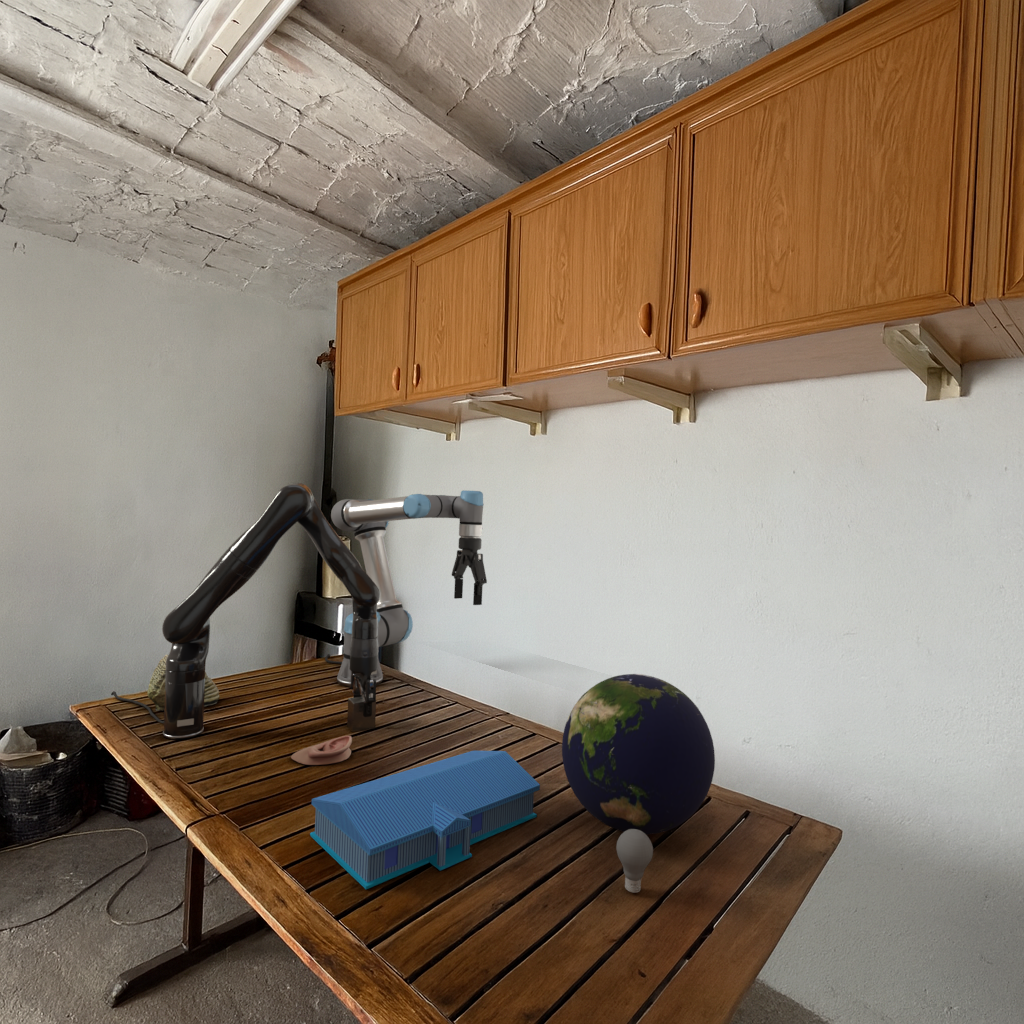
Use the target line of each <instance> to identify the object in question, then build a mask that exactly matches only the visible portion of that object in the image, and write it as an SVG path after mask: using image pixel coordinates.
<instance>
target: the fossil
mask: <svg viewBox="0 0 1024 1024" xmlns="http://www.w3.org/2000/svg"><path fill="white" fill-rule="evenodd" d="M168 655H169V654H165V655H164V656H163V657H162V658H161V659H160V660H159V662H158V663H157V666H156V667H155V669H154V670H153V672H152V675H151V677H150V680H149V684H148V688H147V697H148V699H149V700H150V701H152V703H153V704H154V706H155V711H158V712H159V711H162V712H163V711H164V705H165V674H166V659H167V657H168ZM220 698H221V696H220V690H219V688H218V686H217V685H216V683H215V682H214V681H213V679H212V678H211V677H209V675H208V674H207V672H206V671H205V693H204V707H207V706H213V705H215V704H217V703H218V701H219V699H220Z"/></svg>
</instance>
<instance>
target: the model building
mask: <svg viewBox="0 0 1024 1024" xmlns="http://www.w3.org/2000/svg"><path fill="white" fill-rule="evenodd" d="M538 791H541V784H540V783H539V782H538V781H537V780H536V779H535V778H534V777H533V776H532V775H531V774H530V773H529V772H527V771H526V769H524V768H523V766H521V764H519V762H517V761H516V760H515V759H514V757H512V756H511V755H510V754H509V753H508V752H507V750H471V751H467V752H464V753H460V754H457V755H454V756H449V757H447V758H444V759H441V760H437V761H434V762H431V763H427V764H423V765H420V766H417V767H414V768H410V769H407V770H403V771H400V772H397V773H394V774H390V775H387V776H384V777H381V778H380V777H379V778H377V779H374V780H371V781H366V782H364V783H360V784H357V785H354V786H350V787H347V788H344V789H339V790H337V791H334V792H330V793H327V794H324V795H319V796H316V797H314V798H311V806H313V807H314V808H315V817H314V831H311V832H310V833H309V836H310V838H312V839H313V840H314V841H315V842H316V843H317V845H319V846H320V847H321V848H322V849H323V850H325V852H326V853H327V854H329V856H330V857H331V858H333V859H334V860H335V861H336V862H337V863H338V864H339V865H340V866H341V867H342V868H343V869H344V870H345V871H346V872H347V874H349V875H350V876H351V877H352V878H353V879H354V880H355V881H356V882H357V883H359V885H361V886H362V887H363V888H364V890H369V889H371V888H373V887H375V886H378V885H381V884H382V883H385V882H388V881H389V880H392V879H394V878H397V877H399V876H402V875H404V874H406V873H408V872H410V871H413V870H416V869H417V868H420V867H423V866H424V865H427V864H429V863H430V864H431V865H432V866H433V867H434V868H436V869H437V870H438V871H440V872H441V871H443V870H445V869H448V868H450V867H452V866H455V865H457V864H459V863H461V862H463V861H465V860H468V859H471V858H473V853H471V852H470V851H471V846H472V845H474V844H476V843H478V842H482V841H484V840H486V839H488V838H490V837H493V836H495V835H497V834H499V833H502V832H505V831H506V830H507V831H508V830H510V829H512V828H513V827H516V826H519V825H520V824H523V823H525V822H527V821H530V820H532V819H535V818H537V817H538V814H537V813H535V812H534V798H535V797H534V796H535V792H538Z"/></svg>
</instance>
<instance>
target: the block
mask: <svg viewBox="0 0 1024 1024" xmlns="http://www.w3.org/2000/svg"><path fill="white" fill-rule="evenodd" d="M369 698H370V696H369ZM363 703H364V702H363V697H355V698H353V697H348V698H347V717H346V719H347V720H346V727H347V728H348V729H349V730H350V732H352V733H354V732H360V731H367V730H373V729H376V717H377V716H376V715H377V701H376V702H372V715H371V716H370V717H364V716H363Z"/></svg>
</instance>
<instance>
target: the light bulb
mask: <svg viewBox="0 0 1024 1024" xmlns="http://www.w3.org/2000/svg"><path fill="white" fill-rule="evenodd" d="M615 849H616V854H617V857H618V859H619V861H620V863H621V865H622V867H623V873H624V874H623V875H624V876H625V878H624V888H625V890H627V891H628V892H630V893H634V894H635V893H639V892H640V891H641V889H642V887H641V886H642V879H643V877H644V875H645V871H646V868H647V867H648V866H649V864H650V863H651V861H652V859H653V855H654V847H653V843H652V841H651V838H649V835H646V834H645V833H644V832H642V831H640V830H637V829H629V830H627V831H625V832H622V833H621V834H620V835H619V837H618V839H617V841H616V847H615Z"/></svg>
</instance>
